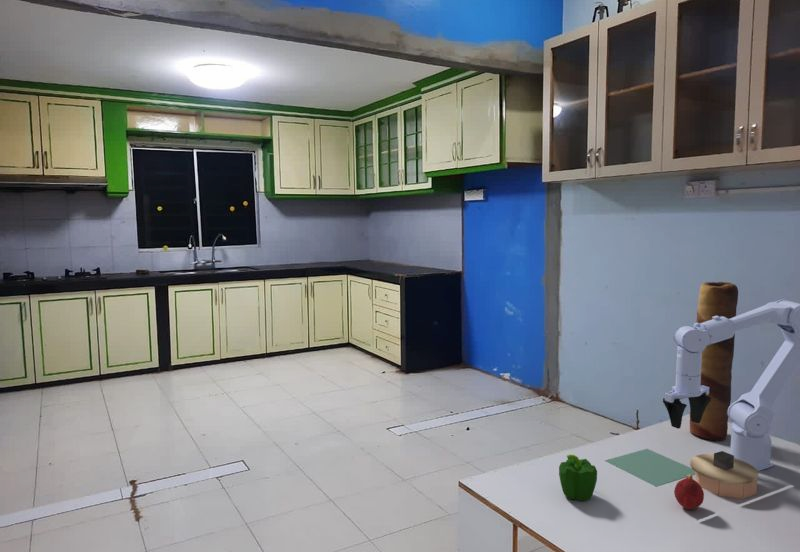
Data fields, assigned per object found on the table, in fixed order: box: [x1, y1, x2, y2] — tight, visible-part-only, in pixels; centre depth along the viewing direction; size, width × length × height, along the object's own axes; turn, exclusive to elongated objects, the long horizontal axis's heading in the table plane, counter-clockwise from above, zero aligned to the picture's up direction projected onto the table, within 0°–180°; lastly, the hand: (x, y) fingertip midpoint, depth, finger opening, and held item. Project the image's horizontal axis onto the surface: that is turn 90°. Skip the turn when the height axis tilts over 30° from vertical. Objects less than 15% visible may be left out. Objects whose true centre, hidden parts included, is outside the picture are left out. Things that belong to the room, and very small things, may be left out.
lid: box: [689, 450, 759, 484], centre depth 134 cm, size 14×14×4 cm
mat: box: [604, 448, 695, 488], centre depth 145 cm, size 16×16×1 cm
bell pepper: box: [558, 454, 598, 502], centre depth 130 cm, size 8×8×10 cm
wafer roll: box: [689, 281, 739, 441], centre depth 163 cm, size 10×11×45 cm
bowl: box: [694, 471, 758, 499], centre depth 134 cm, size 12×12×4 cm
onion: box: [673, 474, 705, 511], centre depth 124 cm, size 6×6×8 cm
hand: (685, 424), depth 146 cm, fingers open, 7 cm apart
